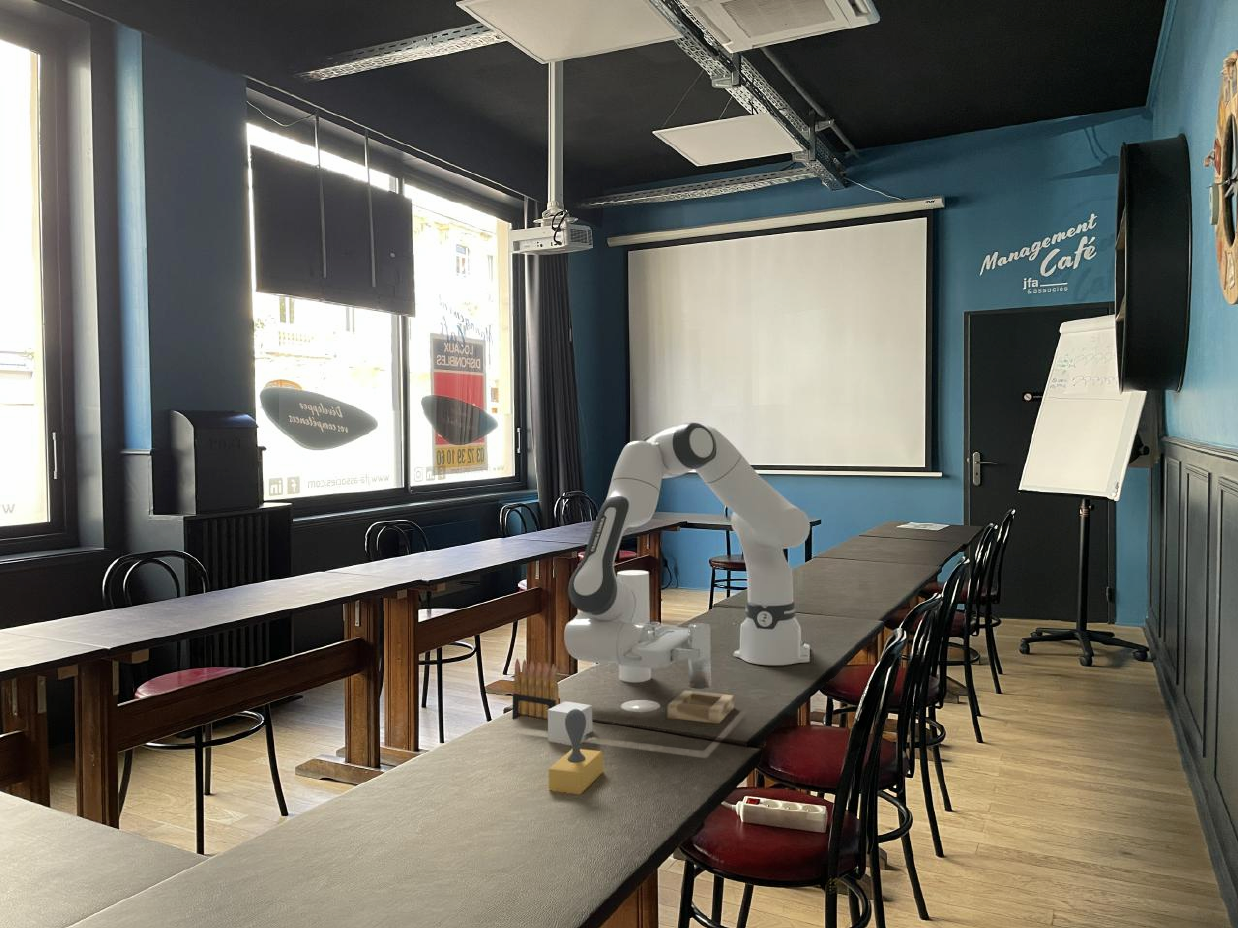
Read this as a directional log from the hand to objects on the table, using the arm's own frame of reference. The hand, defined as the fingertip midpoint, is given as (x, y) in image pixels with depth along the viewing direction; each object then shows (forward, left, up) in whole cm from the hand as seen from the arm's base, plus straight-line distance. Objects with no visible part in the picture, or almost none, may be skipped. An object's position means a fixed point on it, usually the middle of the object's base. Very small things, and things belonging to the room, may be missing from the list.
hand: (703, 650), depth 180 cm
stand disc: (0, -14, -13) cm, 19 cm away
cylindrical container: (-19, -23, -14) cm, 33 cm away
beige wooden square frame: (0, -1, -13) cm, 13 cm away
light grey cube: (+20, -20, -14) cm, 31 cm away
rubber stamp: (+38, -10, -14) cm, 41 cm away
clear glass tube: (0, -1, -7) cm, 7 cm away
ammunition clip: (+13, -31, -14) cm, 36 cm away
